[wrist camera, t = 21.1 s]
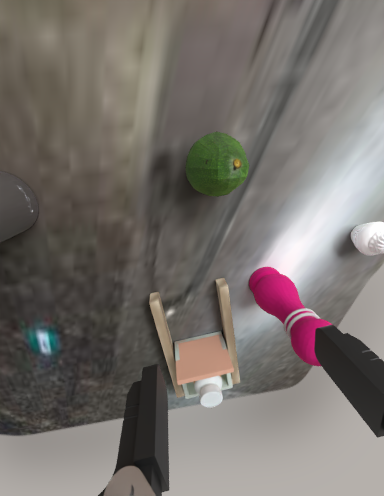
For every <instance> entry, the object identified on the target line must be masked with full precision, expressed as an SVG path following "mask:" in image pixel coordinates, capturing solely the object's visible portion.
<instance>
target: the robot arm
mask: <svg viewBox="0 0 384 496" xmlns="http://www.w3.org/2000/svg"><path fill="white" fill-rule="evenodd" d="M38 211H39V210H38V203H37V200H36V197H35V195H34V194H33V192H32V190H31V189H30V188H29V187H28V185H26V184H25V183H24V182H23V181H22V180H20V179H19V178H17V177H16V176H14V175H11V174H9V173H6V172H2V171H0V243H1V242H3V241H5V240H7V239H9V238H11V237H13V236H15V235H17V234H19V233H21V232H23V231H26V230H27V229H29V228H30V227H31V226H32V225H33V224H34V223H35V221H36V219H37V217H38ZM314 351H315V355H316V358H317V360H318V362H319V363H320V365H321V366H322V367H323V368H324V370H325V371H326V372H327V373H328V375H329V376H330V377H331V379H332V380H333V381H334V382H335V384H336V385H337V386H338V388H339V389H340V390H341V391H342V393H343V394H344V395H345V397H346V398H347V399H348V400H349V402H350V403H351V404H352V405H353V407H354V408H355V409H356V410H357V412H358V413H359V414H360V416H361V417H362V418H363V420H364V421H365V422H366V423H367V425H368V426H369V427H370V429H371V430H372V431H373V432H374V434H375V435H376V436H377V437H381V436H384V361H383V360H381V359H379V357H378V356H377V355H376V354H375V353H374V352H372V351H370V349H369V348H368V347H367V346H366V345H365V344H364V343H362V342H361V341H360V340H358V339H357V338H355V337H353V336H351V335H350V334H348V333H346V334H343V333H341V331H339V330H338V329H337V328H336V327H335V326H334V325H328V326H324V327H319V328H316V330H315V347H314ZM168 490H169V456H168V399H167V389H166V384H165V381H164V378H163V375H162V372H161V368H160V365H159V364H156V365H152V366H148V367H144V368H143V371H142V381H138V382H134V383H133V384H132V386H131V388H130V390H129V392H128V394H127V400H126V410H125V413H124V421H123V426H122V433H121V439H120V446H119V452H118V459H117V464H116V469H115V471H114V474H113V477H112V478H111V480H110V481H109V483H108V485H107V486H106V488H105V489H104V490H103V492H101V493H100V494H99V495H98V496H162V494H161V493H162V492H164V491H168Z"/></svg>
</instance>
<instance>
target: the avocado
mask: <svg viewBox="0 0 384 496" xmlns="http://www.w3.org/2000/svg"><path fill="white" fill-rule="evenodd" d="M248 169H249V163H248V161H247V158H246V154H245V152H244V150H243V148H242V146H241V145H240V143H239V142H238V141H237V140H236V139H234V138H232V137H231V136H229V135H227V134H224V133H220V132H214V133H211V134H208V135H206V136H204V137H202V138H201V139H199V140H198V141H197V142H195V143H194V145H193V146H192V148H191V150H190V152H189V154H188V156H187V161H186V175H187V179H188V180H189V182H190V184H191V185H192V187H193V188H194V189H195V190H197V191H198V192H201V193H203V194H206V195H208V196H222V195H227V194H229V193H230V192H231V191H233V190H234V189H236V188H237V187H238V186H239V185H241V184H242V183H243V182H244V180H245V179H246V177H247V175H248Z"/></svg>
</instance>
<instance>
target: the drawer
mask: <svg viewBox="0 0 384 496" xmlns="http://www.w3.org/2000/svg"><path fill="white" fill-rule="evenodd" d="M174 343H175V359H176V375H177V383H178V385H181V384H182V386H183V390H184V393H185V397H186V399H188V398H192V397H196V396H199V394H198V393H197V392H196V390H195V388H194V381H198V380H202V379H206V378H210V377H215V376H219V375H221V378H222V388H221V390H225V389H229V388H233V386H232V379H231V373H232V372H234V368H233V365H232V362H231V359H230V356H229V353H228V350H227V347H226V344H225V341H224V339H223V336H222V333H221V331H219V332H215V333H210V334H206V335H201V336H197V337H192V338H188V339H184V340H179V341H175V342H174Z"/></svg>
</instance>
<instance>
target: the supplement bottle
mask: <svg viewBox="0 0 384 496" xmlns="http://www.w3.org/2000/svg"><path fill="white" fill-rule="evenodd" d="M194 388H195V390H196V392H197V393H198V394H199V397H200V402H201V404H202V405H203V406H205V407H214V406H217V405H219V404H220V403H221V402H222V399H223V396H222V392H221V388H222V378H221V375H219V376H215V377H210V378H206V379H202V380H198V381H194Z"/></svg>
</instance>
